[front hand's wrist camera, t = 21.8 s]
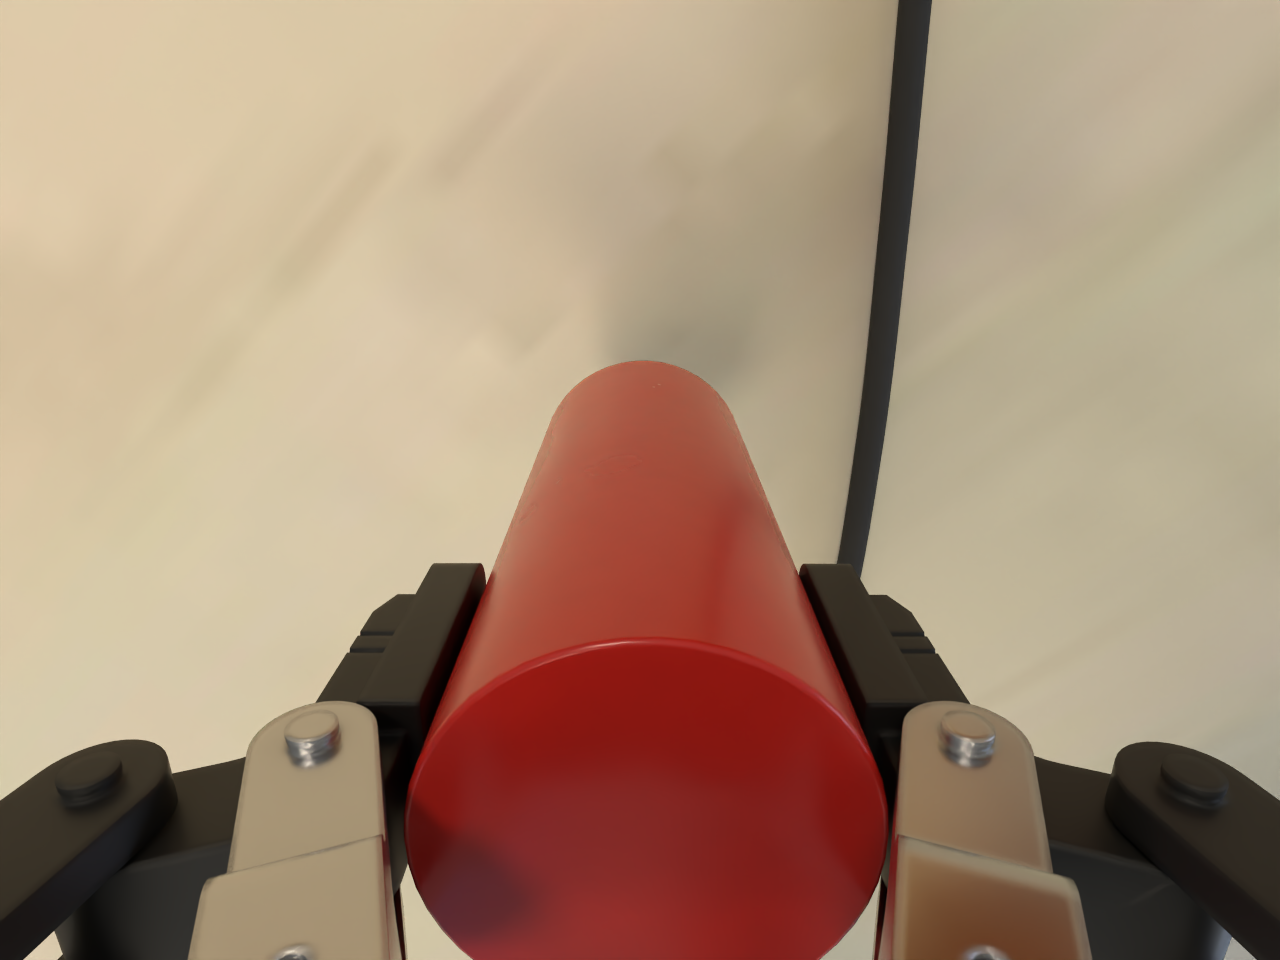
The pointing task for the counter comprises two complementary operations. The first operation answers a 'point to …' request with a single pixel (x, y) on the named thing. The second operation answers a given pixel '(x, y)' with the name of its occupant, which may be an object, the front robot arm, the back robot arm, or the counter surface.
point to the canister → (645, 711)
